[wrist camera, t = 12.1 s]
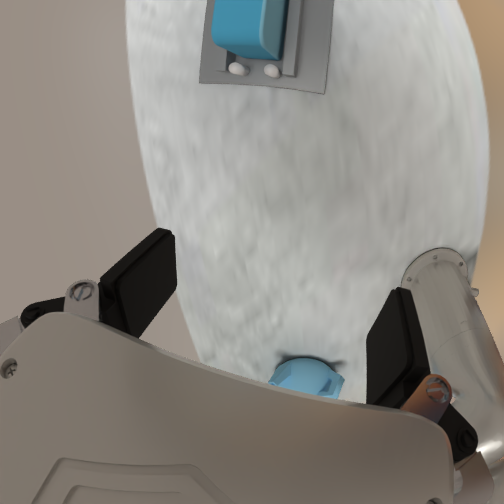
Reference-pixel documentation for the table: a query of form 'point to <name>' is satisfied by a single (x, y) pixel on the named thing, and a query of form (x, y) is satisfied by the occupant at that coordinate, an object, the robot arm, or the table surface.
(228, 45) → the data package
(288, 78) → the tray
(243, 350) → the table surface
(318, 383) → the teapot
